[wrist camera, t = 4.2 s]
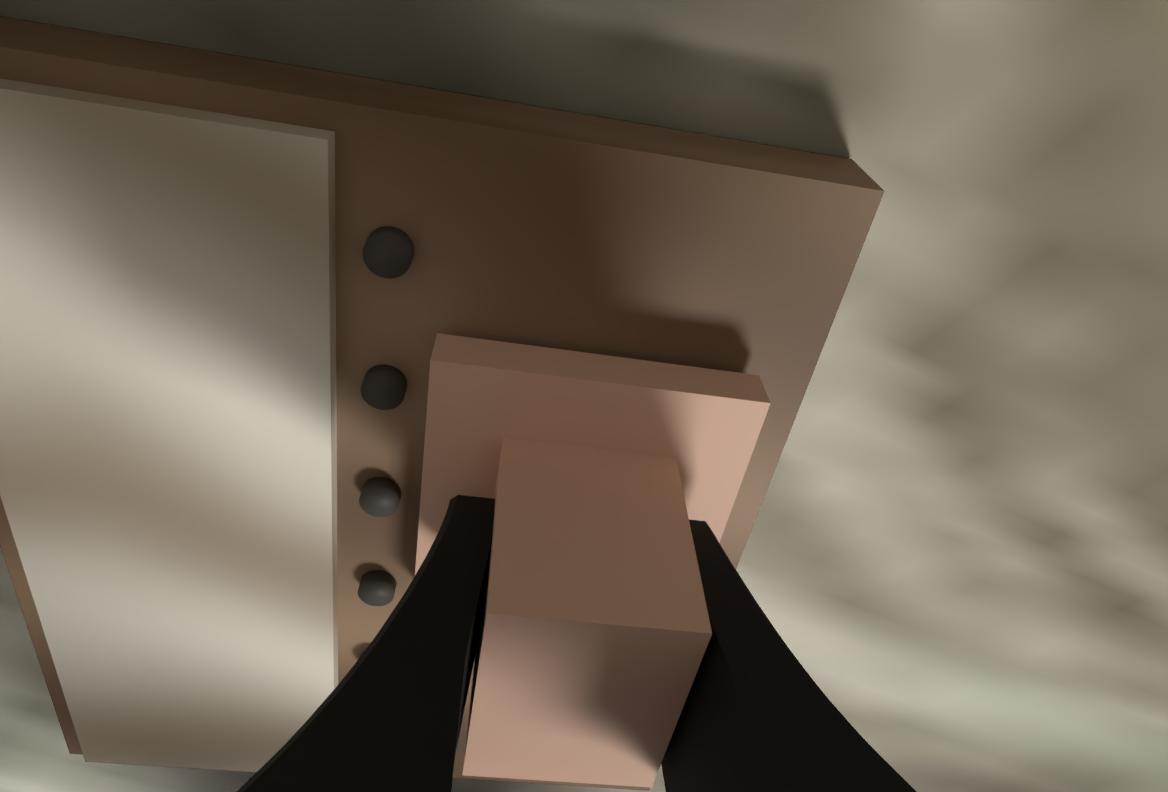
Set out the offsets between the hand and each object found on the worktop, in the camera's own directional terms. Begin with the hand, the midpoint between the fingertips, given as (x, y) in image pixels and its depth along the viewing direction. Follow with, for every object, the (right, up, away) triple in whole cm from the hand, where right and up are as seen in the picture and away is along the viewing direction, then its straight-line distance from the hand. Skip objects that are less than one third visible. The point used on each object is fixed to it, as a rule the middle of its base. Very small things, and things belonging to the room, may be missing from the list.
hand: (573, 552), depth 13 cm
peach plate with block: (0, +1, +1) cm, 1 cm away
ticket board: (-4, +1, +3) cm, 5 cm away
